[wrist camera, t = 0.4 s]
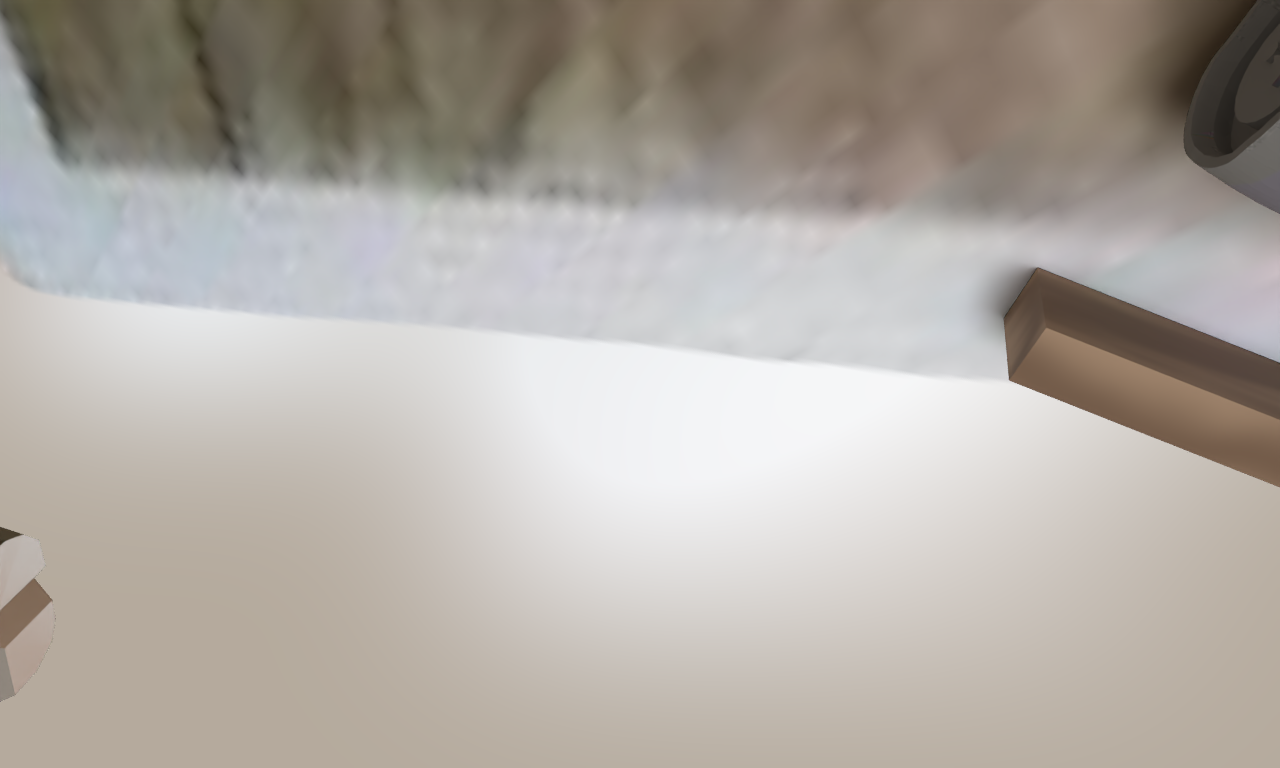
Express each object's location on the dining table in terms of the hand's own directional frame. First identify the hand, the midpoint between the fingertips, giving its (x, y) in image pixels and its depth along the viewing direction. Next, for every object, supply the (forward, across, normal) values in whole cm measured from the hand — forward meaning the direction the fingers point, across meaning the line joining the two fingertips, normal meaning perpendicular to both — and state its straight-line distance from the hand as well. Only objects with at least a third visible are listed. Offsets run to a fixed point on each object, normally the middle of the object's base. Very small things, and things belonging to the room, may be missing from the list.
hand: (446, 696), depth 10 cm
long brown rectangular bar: (+39, -26, +13) cm, 48 cm away
